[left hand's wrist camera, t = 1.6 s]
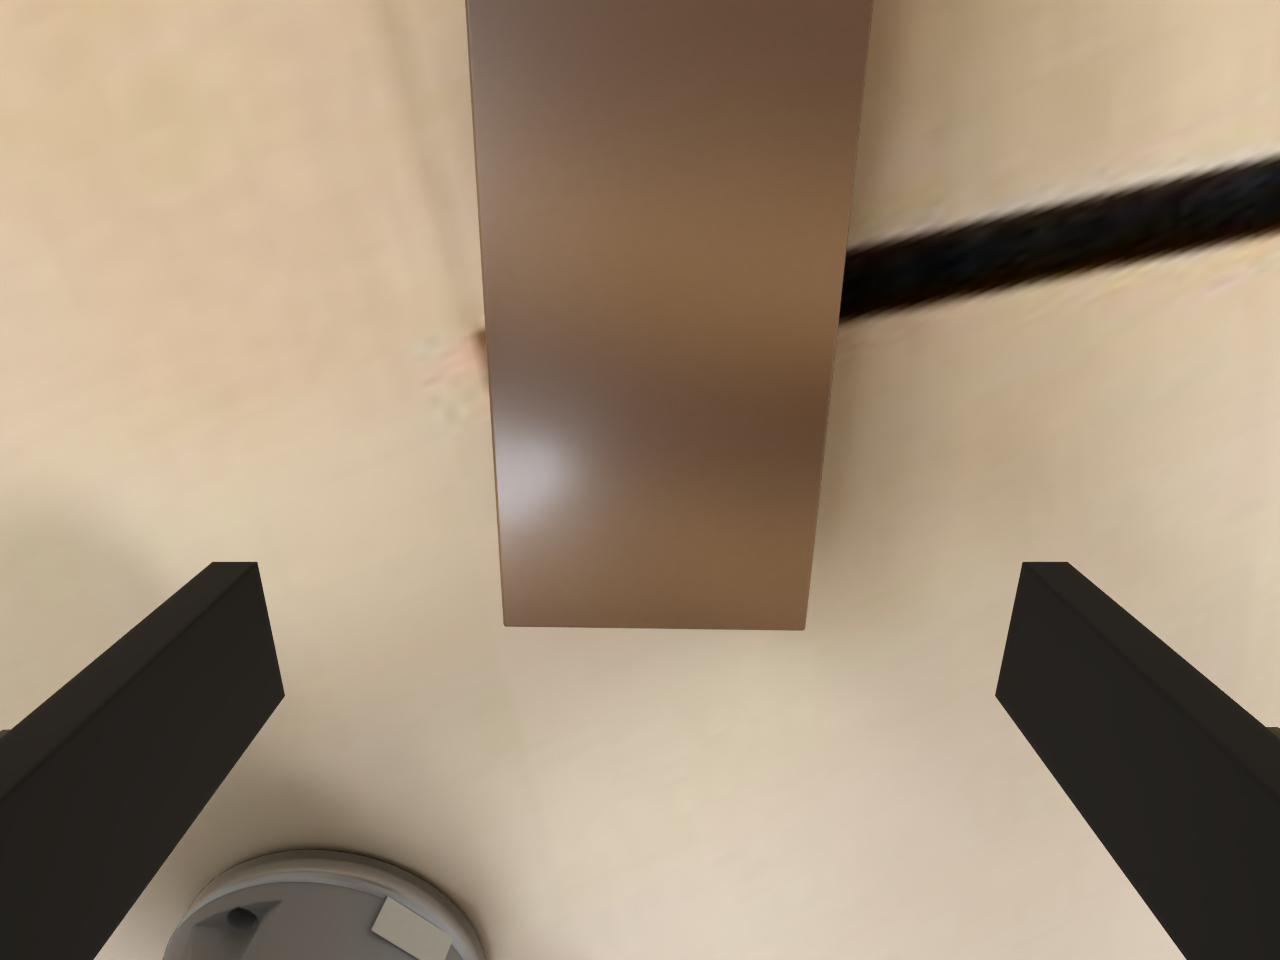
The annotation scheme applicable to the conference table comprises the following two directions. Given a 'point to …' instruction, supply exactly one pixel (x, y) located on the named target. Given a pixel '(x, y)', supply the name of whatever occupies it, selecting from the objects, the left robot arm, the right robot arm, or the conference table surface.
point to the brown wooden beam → (662, 298)
